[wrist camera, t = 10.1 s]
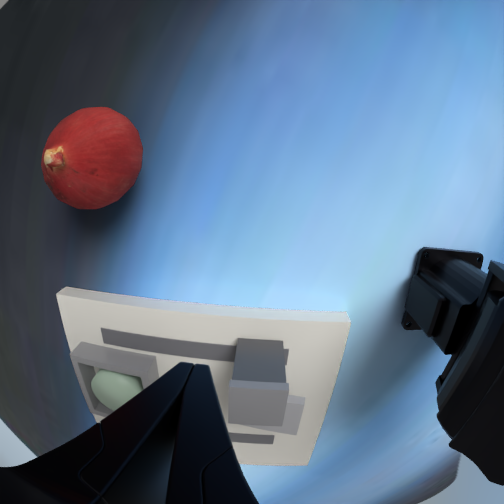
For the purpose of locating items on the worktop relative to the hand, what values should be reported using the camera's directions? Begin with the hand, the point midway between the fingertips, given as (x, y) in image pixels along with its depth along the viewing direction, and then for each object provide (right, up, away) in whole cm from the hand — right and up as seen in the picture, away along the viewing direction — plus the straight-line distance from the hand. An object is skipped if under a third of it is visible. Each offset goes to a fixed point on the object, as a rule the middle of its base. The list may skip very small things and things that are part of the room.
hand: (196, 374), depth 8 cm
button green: (-9, -7, +13) cm, 18 cm away
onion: (-7, +10, +10) cm, 16 cm away
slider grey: (+2, -4, +12) cm, 13 cm away
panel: (-3, -9, +15) cm, 18 cm away
